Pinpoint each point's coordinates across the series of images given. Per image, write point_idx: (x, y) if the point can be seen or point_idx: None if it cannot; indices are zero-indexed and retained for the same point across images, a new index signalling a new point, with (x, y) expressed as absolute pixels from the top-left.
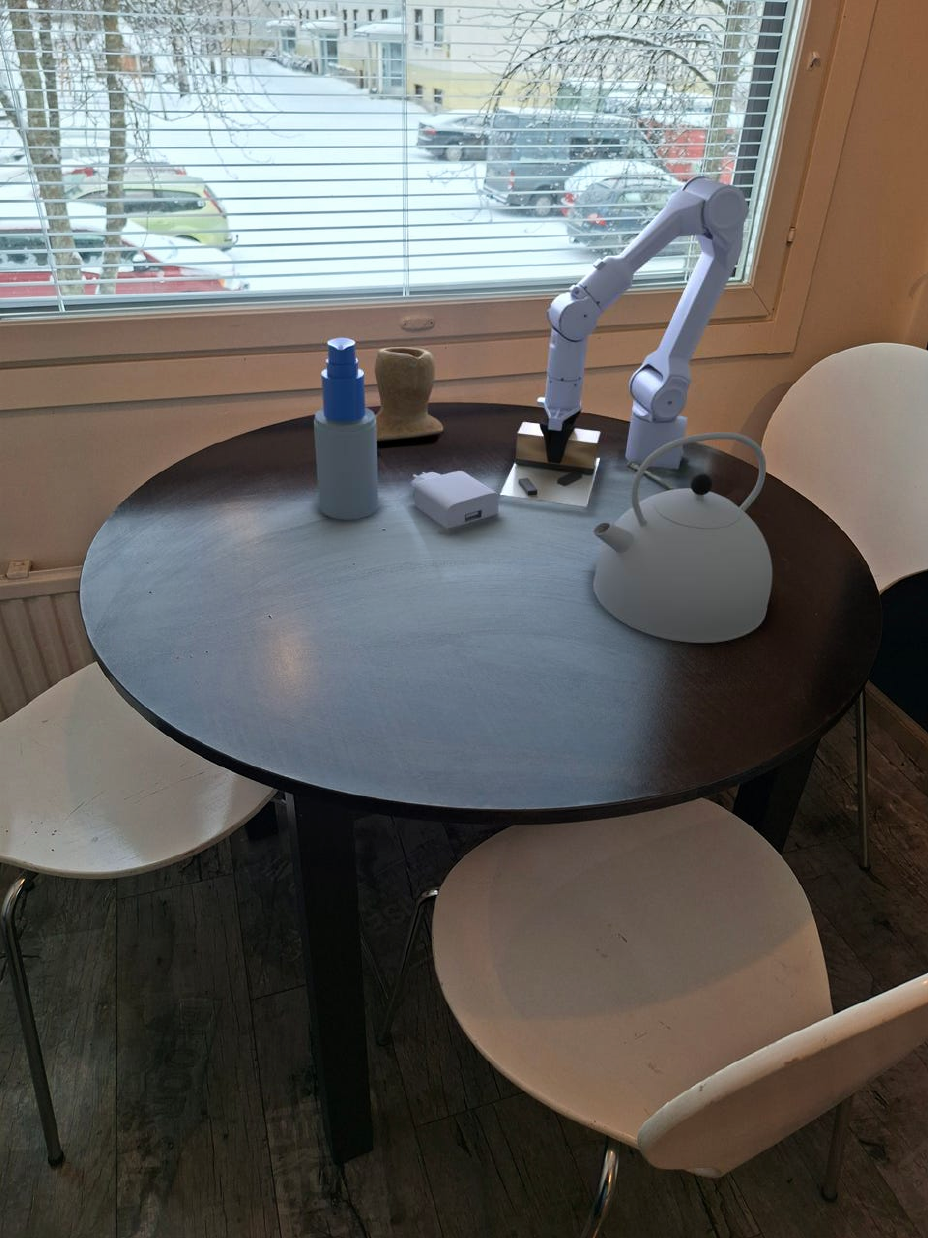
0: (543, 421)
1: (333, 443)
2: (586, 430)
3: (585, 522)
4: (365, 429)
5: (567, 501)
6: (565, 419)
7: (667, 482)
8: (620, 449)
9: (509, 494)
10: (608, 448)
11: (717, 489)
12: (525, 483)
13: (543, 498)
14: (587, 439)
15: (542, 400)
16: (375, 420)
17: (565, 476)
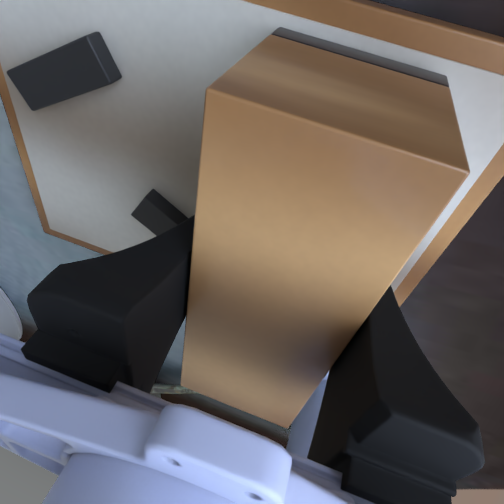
0: (74, 315)
1: None
2: (294, 405)
3: (18, 205)
4: None
5: (52, 190)
6: (333, 402)
7: (194, 392)
8: (457, 397)
9: None
10: (474, 380)
11: (239, 425)
12: (57, 66)
13: (31, 123)
14: (205, 377)
15: (187, 474)
16: None
17: (168, 224)
